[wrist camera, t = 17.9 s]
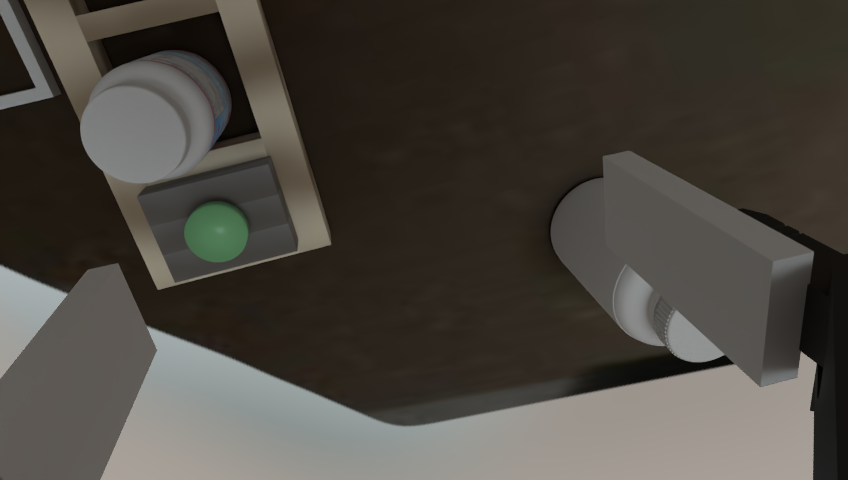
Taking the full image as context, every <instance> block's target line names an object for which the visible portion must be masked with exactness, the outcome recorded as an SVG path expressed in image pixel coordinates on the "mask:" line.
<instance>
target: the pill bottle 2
mask: <svg viewBox="0 0 848 480" xmlns="http://www.w3.org/2000/svg"><path fill="white" fill-rule="evenodd" d="M551 241H552V245H553V248H554V250H555V252H556V254H557V256H558V257H559V259H560V260H561V261H562V263H563V264H564V265H565V266H566V267H567V268H568V269H569V270H570V272H571V273H572V274H573V275H574V276H575V277H576V278H577V279H578V280H579V282H580V283H581V284H582V285H583V286H584V287H585V288H586V289H587V291H588V292H589V293H590V294H591V295H592V296H593V297H594V298H595V300H596V301H597V302H598V303H599V304H600V305H601V306H602V307H603V308H604V310H605V311H606V312H607V313H608V314H609V315H610V316H611V317H612V319H613V320H614V321H615V322H616V323H617V324H618V325H619V326H620V327H621V328H622V329H623V330H624V331H625V332H626V333H627V334H628V335H630V336H631V337H633V338H635V339H637V340H639V341H641V342H644V343H647V344H651V345H656V346H666V347H667V348H668V349H669V350H670V351H671V352H672V353H673V354H674V355H675V356H677V357H678V358H680V359H683V360H687V361H691V362H705V361H710V360H713V359H716V358H719V357H721V356H723V355H725V354H724V353H723V352H722V351H720V350H719V349H718V348H717V347H716V346H715V345H714V344H713V343H712V342H711V341H710V340H709V339H707V338H706V337H705V336H704V335H703V334H702V333H701V332H700V331H699V330H698V329H697V328H695V327H694V326H693V325H692V324H691V323H690V322H689V321H688V320H687V319H686V318H685V317H684V316H682V315H681V314H680V313H679V312H678V311H677V310H676V309H675V308H674V307H673V306H672V305H670V304H669V303H668V302H667V301H666V300H665V299H664V298H663V297H662V296H661V295H660V294H659V293H657V292H656V291H655V290H654V289H653V288H652V287H651V286H650V285H649V284H648V283H647V282H645V281H644V280H643V279H642V278H641V277H640V276H639V275H638V274H637V273H636V272H635V271H634V270H632V269H631V268H630V267H629V266H628V265H627V264H626V263H625V262H624V261H623V260H622V259H620V258H619V257H618V256H617V255H616V254H615V253H614V252H613V251H612V250H611V249H610V248H609V247H607V246H606V226H605V200H604V178H597V179H593V180H590V181H587V182H585V183H582V184H581V185H579V186H577V187H576V188H574V189H573V190H572V191H570V192H569V193H568V194H567V195H566V196H565V197H564V199H563V200H562V201H561V202H560V204H559V205H558V207H557V209H556V211H555V213H554V216H553V219H552V223H551Z"/></svg>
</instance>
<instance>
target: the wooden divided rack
mask: <svg viewBox="0 0 848 480" xmlns="http://www.w3.org/2000/svg"><path fill="white" fill-rule="evenodd" d="M24 2H25V4H26V6H27V8H28V11H29V13H30V15H31V17H32V19H33V21H34V24H35V26H36V28H37V30H38V32H39V34H40V36H41V39H42V41H43V43H44V45H45V47H46V49H47V52H48V54H49V56H50V58H51V60H52V62H53V65H54V67H55V69H56V71H57V73H58V75H59V77H60V80H61V82H62V84H63V86H64V88H65V90H66V93H67V95H68V97H69V99H70V101H71V103H72V106H73V108H74V110H75V112H76V114H77V116H78V119H79V121H80V123H81V118H82V115H83V112H84V110H85V108H86V106H87V105H88V102H89V98H90V95H91V93H92V91H93V89H94V87H95V86H96V84H97V83H98V81H99V80H100V79H101V78H102V77H103V76H104V75H106V74H107V73H108V72H110V71H111V70H113V67H112V64H111V62H110V59H109V57H108V55H107V52H106V50H105V48H104V45H103V43H102V40H101V39H103V38H107V37H111V36H116V35H120V34H124V33H129V32H133V31H137V30H142V29H146V28H150V27H155V26H159V25H163V24H168V23H172V22H176V21H181V20H185V19H189V18H194V17H198V16H202V15H207V14H211V13H215V12H220V15H221V18H222V21H223V24H224V27H225V30H226V33H227V36H228V39H229V42H230V45H231V48H232V51H233V54H234V57H235V60H236V63H237V66H238V69H239V72H240V75H241V78H242V81H243V84H244V87H245V90H246V93H247V96H248V99H249V102H250V105H251V108H252V111H253V114H254V117H255V120H256V123H257V126H258V129H259V132H255V133H251V134H247V135H243V136H239V137H235V138H231V139H226V140H222V141H218V142H215V143H214V145H213V146H212V148H211V149H210V150H209V152H208V153H207V154H206V156H205V157H204V158H203V160H202V161H201V162H200V163H199V164H198V165H197V166H195V167H194V168H193V169H192V170H190V171H188V172H187V173H185V174H183V175H180V176H177V177H174V178H170V179H162V180H158V181H155V182H151V183H129V182H125V181H121V180H119V179H116V178H114V177H112V176H110V175H108V174H107V173H105V172H104V171H103V172H104V175H105V177H106V179H107V181H108V183H109V185H110V188H111V190H112V192H113V194H114V196H115V198H116V201H117V203H118V205H119V207H120V209H121V211H122V213H123V216H124V218H125V220H126V222H127V224H128V226H129V229H130V231H131V233H132V235H133V237H134V239H135V242H136V244H137V246H138V248H139V250H140V252H141V255H142V257H143V259H144V261H145V263H146V265H147V267H148V270H149V272H150V274H151V276H152V278H153V280H154V283H155V285H156V287H157V289H158V290H159V289H163V288H167V287H171V286H174V285H178V284H182V283H186V282H190V281H194V280H197V279H201V278H205V277H209V276H213V275H217V274H220V273H224V272H228V271H232V270H236V269H240V268H243V267H247V266H251V265H255V264H259V263H263V262H266V261H270V260H274V259H278V258H282V257H286V256H289V255H293V254H297V253H301V252H305V251H309V250H312V249H316V248H320V247H324V246H328V245H331V233H330V229H329V225H328V222H327V219H326V215H325V212H324V209H323V205H322V202H321V199H320V196H319V192H318V189H317V186H316V182H315V179H314V176H313V173H312V169H311V166H310V163H309V159H308V156H307V153H306V150H305V146H304V143H303V140H302V136H301V133H300V130H299V127H298V123H297V120H296V117H295V113H294V110H293V107H292V104H291V100H290V97H289V94H288V90H287V87H286V84H285V81H284V77H283V74H282V71H281V67H280V64H279V61H278V58H277V54H276V51H275V48H274V44H273V41H272V38H271V34H270V31H269V28H268V25H267V21H266V18H265V15H264V11H263V8H262V5H261V2H260V0H144V1H140V2H135V3H131V4H126V5H122V6H118V7H113V8H109V9H104V10H100V11H96V12H91V13H90V12H89V10H88V7H87V5H86V3H85V0H24ZM211 201H222V202H226V203H229V204H231V205H233V206H235V207H237V208H238V209H239V210H240V211H241V212H242V213H243V214H244V215H245V217H246V219H247V221H248V224H249V236H248V239H247V243H246V246H245V248H244V249H243V251H242V252H241V253H240V254H239V255H238V256H237V257H235V258H234V259H232V260H229V261H226V262H210V261H206V260H204V259H202V258H200V257H198V256H197V255H195V254H194V253H193V252H192V251H191V250H190V248H189V247H188V245H187V243H186V241H185V237H184V229H185V225H186V222H187V220H188V219H189V217H190V215H191V214H192V212H193V211H194V210H195V209H196V208H197V207H198V206H200V205H202V204H204V203H207V202H211Z"/></svg>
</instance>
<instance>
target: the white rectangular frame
mask: <svg viewBox="0 0 848 480" xmlns="http://www.w3.org/2000/svg"><path fill="white" fill-rule="evenodd" d="M0 14H1V16H2V18H3V20H4V23H5V25H6V27H7V29H8V31H9V33H10V35H11V37H12V39H13V41H14V43H15V45H16V47H17V49H18V51H19V54H20V56H21V58H22V60H23V62H24V64H25V66H26V68H27V70H28V72H29V74H30V76H31V78H32V80H33V83H34V85H35V88H30V89H26V90H22V91H18V92H13V93H9V94H5V95H1V96H0V109H5V108H9V107H13V106H17V105H22V104H26V103H30V102H34V101H39V100H43V99H47V98H51V97H55V96H57V95H60V94H62V93H61V91H60V89H59V87H58V85H57V83H56V81H55V78H54V76H53V74H52V72H51V70H50V68H49V66H48V63H47V61H46V59H45V57H44V55H43V53H42V51H41V48H40V46H39V44H38V42H37V40H36V38H35V36H34V33H33V31H32V29H31V27H30V25H29V23H28V21H27V18H26V16H25V14H24V12H23V10H22V8H21V6H20V3H19V1H18V0H0Z"/></svg>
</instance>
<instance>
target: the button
mask: <svg viewBox="0 0 848 480" xmlns="http://www.w3.org/2000/svg"><path fill="white" fill-rule="evenodd" d="M248 236H249V224H248V221H247V219H246V217H245V215H244V214H243V213H242V212H241V211H240V210H239V209H238V208H237V207H235V206H233V205H231V204H229V203H226V202H222V201H211V202H207V203H204V204H202V205H200V206H198V207H197V208H196V209H195V210H194V211H193V212H192V214H191V215H190V217H189V219H188V220H187V222H186V225H185V229H184V237H185V241H186V243H187V245H188V247H189V248H190V250H191V251H192V252H193V253H194V254H195V255H197V256H198V257H200V258H202V259H204V260H206V261H210V262H226V261H229V260H232V259H234V258H235V257H237V256H238V255H239V254H240V253H241V252H242V251H243V249H244V248H245V246H246V243H247V239H248Z"/></svg>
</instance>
